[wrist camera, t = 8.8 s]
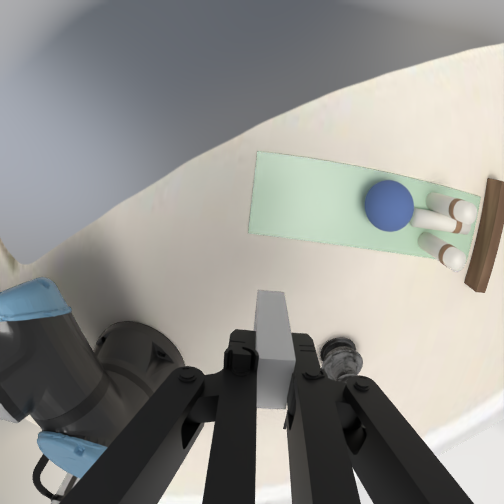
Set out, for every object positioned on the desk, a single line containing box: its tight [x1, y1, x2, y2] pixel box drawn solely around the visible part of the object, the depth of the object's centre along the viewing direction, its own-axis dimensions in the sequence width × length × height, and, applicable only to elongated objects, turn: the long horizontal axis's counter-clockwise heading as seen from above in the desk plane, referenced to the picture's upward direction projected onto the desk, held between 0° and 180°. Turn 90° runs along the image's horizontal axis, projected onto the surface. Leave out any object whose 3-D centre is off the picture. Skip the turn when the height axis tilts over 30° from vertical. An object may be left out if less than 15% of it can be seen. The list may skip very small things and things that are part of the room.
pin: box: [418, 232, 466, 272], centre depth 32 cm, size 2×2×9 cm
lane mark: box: [248, 151, 481, 264], centre depth 36 cm, size 32×10×1 cm, turn 84°
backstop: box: [464, 178, 504, 293], centre depth 34 cm, size 2×16×4 cm, turn 174°
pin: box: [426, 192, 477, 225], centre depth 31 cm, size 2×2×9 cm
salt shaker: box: [321, 337, 363, 383], centre depth 37 cm, size 6×6×12 cm
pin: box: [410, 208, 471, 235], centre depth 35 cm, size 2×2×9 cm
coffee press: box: [33, 454, 80, 504], centre depth 41 cm, size 17×16×30 cm
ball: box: [365, 180, 414, 232], centre depth 33 cm, size 6×6×6 cm
